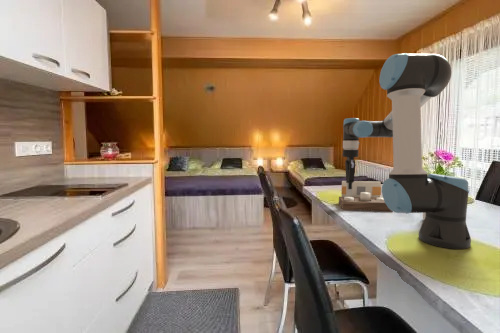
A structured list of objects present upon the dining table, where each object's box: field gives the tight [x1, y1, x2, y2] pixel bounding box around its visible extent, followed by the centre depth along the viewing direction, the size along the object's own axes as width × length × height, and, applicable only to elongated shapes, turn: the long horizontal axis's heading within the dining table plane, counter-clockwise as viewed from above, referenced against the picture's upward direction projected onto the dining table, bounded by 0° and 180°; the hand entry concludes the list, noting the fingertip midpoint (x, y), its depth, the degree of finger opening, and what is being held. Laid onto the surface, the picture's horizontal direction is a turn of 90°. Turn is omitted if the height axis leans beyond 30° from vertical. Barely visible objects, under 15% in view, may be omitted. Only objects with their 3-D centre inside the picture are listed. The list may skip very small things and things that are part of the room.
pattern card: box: [340, 180, 382, 198], centre depth 157 cm, size 1×20×12 cm, turn 82°
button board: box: [338, 196, 392, 212], centre depth 148 cm, size 12×24×4 cm, turn 82°
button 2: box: [360, 192, 370, 201], centre depth 148 cm, size 5×5×4 cm
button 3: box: [344, 197, 354, 201], centre depth 149 cm, size 5×5×4 cm
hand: (349, 194), depth 149 cm, fingers closed
